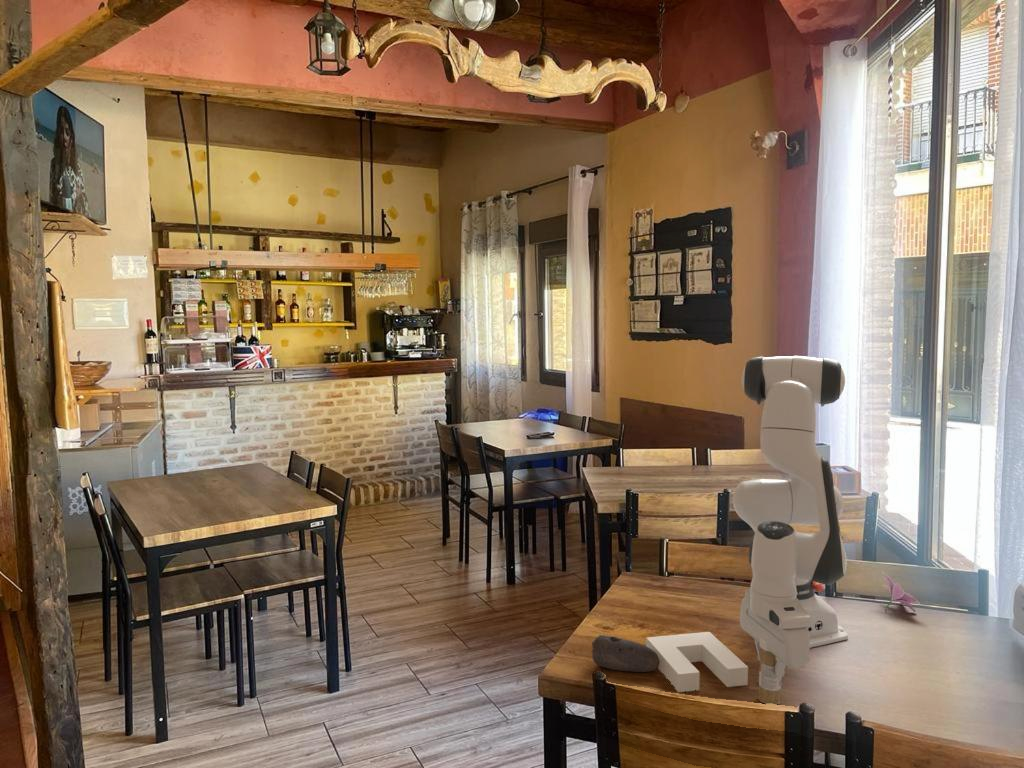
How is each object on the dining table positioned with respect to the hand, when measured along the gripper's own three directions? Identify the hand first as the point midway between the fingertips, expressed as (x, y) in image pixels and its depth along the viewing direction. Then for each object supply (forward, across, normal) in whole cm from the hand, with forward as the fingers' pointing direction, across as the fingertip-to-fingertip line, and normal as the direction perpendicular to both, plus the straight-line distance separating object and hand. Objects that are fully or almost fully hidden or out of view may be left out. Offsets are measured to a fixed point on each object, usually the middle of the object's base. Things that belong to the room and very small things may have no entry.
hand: (770, 668), depth 148 cm
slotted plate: (+7, -16, -9) cm, 20 cm away
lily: (+7, -35, +59) cm, 69 cm away
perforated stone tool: (+7, -19, -24) cm, 32 cm away
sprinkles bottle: (+7, 0, 0) cm, 7 cm away
